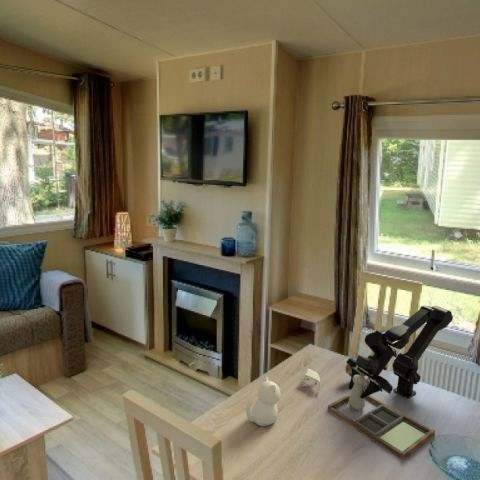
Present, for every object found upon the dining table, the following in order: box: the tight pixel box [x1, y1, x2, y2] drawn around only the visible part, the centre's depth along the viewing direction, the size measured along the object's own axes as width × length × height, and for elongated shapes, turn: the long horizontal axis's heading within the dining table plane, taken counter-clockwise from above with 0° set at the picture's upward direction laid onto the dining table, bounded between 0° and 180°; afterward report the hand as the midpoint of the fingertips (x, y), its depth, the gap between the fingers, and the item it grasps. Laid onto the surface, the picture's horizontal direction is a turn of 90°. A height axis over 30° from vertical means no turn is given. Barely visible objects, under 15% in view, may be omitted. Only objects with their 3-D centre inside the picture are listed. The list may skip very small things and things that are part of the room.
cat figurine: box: [245, 375, 282, 427], centre depth 137 cm, size 9×12×15 cm
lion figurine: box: [344, 363, 371, 382], centre depth 163 cm, size 15×5×9 cm, turn 96°
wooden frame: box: [327, 392, 436, 461], centre depth 139 cm, size 19×30×2 cm, turn 37°
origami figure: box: [299, 367, 322, 394], centre depth 160 cm, size 12×8×5 cm
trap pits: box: [353, 404, 404, 438], centre depth 139 cm, size 17×9×2 cm, turn 127°
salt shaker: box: [348, 375, 366, 413], centre depth 145 cm, size 6×6×13 cm
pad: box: [379, 421, 426, 452], centre depth 132 cm, size 14×8×1 cm, turn 127°
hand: (354, 393), depth 145 cm, fingers open, 6 cm apart
